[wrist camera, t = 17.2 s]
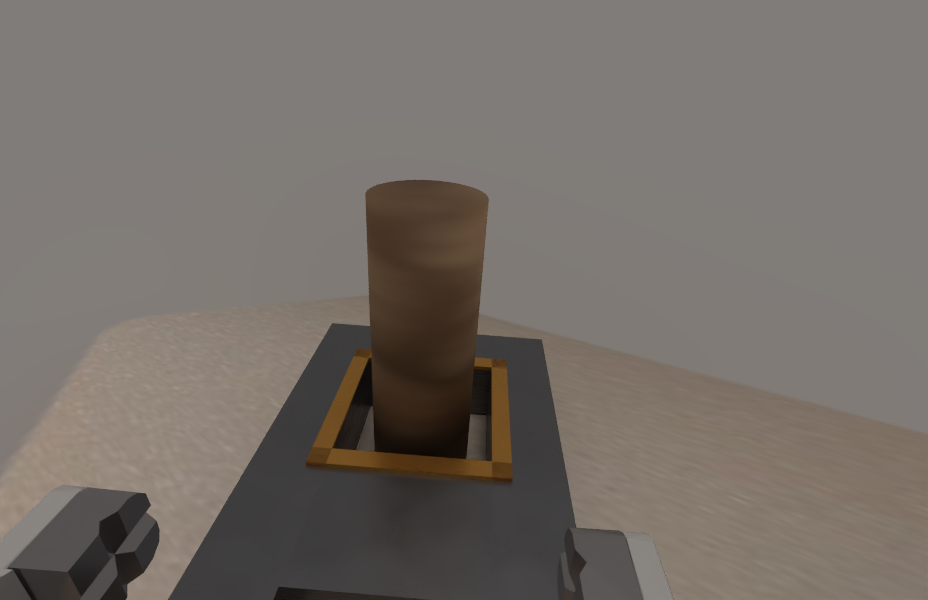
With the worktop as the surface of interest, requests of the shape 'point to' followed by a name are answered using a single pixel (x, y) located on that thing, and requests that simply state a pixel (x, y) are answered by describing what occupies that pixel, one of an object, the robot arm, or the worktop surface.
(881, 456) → the worktop surface
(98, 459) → the worktop surface
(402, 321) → the peg
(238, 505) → the grey slotted board
